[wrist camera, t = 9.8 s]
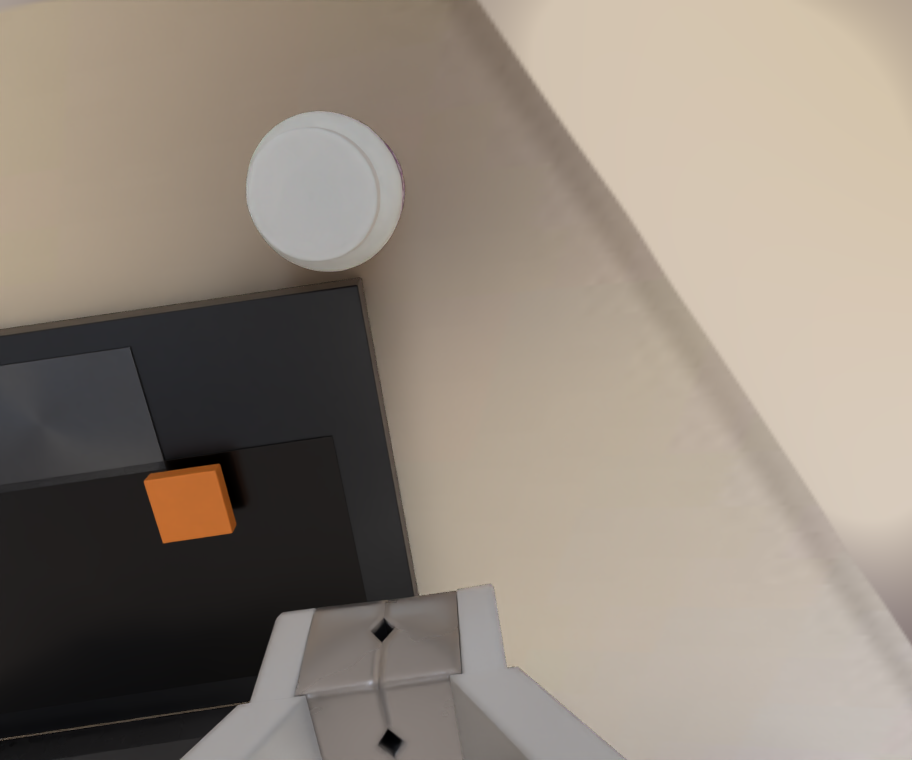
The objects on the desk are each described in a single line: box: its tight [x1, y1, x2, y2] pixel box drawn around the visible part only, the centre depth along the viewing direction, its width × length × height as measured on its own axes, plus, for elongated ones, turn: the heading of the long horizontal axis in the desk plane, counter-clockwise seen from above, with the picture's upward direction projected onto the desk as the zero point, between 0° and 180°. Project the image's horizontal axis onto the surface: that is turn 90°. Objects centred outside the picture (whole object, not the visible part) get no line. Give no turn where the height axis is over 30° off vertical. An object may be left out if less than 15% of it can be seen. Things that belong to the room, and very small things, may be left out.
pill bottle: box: [246, 111, 405, 272], centre depth 24 cm, size 5×5×10 cm
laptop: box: [0, 278, 419, 739], centre depth 32 cm, size 21×30×2 cm
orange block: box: [144, 464, 236, 543], centre depth 30 cm, size 3×3×1 cm
